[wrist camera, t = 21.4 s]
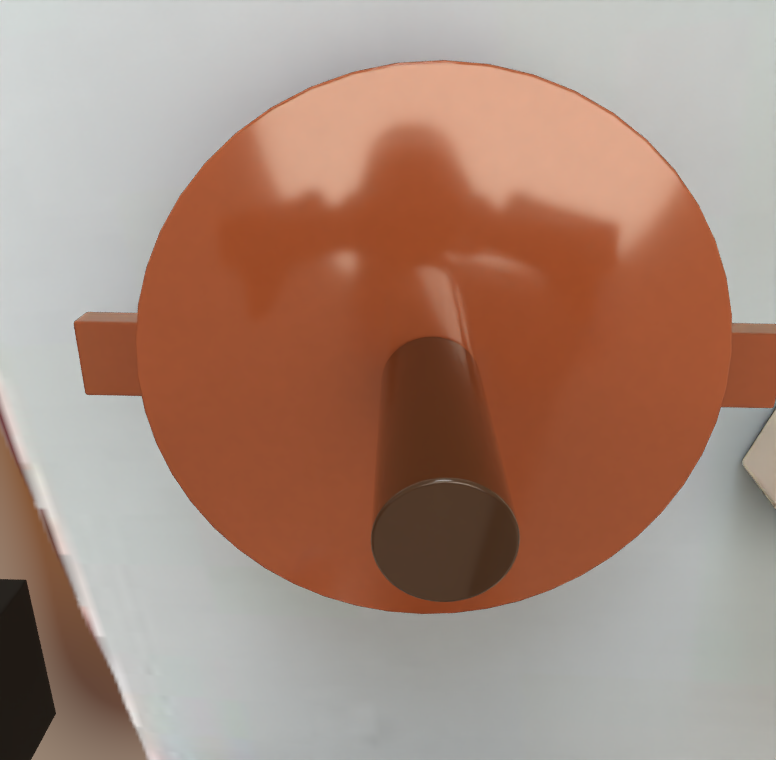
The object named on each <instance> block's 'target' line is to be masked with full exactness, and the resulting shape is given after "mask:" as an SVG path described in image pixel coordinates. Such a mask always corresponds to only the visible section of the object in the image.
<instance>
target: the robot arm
mask: <svg viewBox="0 0 776 760" xmlns="http://www.w3.org/2000/svg"><path fill="white" fill-rule="evenodd" d="M55 714H56V712H55V708H54V703H53V699H52V694H51V689H50V685H49V680H48V676H47V672H46V667H45V662H44V658H43V653H42V649H41V644H40V640H39V636H38V631H37V626H36V622H35V617H34V613H33V608H32V604H31V599H30V595H29V590H28V586H27V581H26V580H8V579H0V760H31V759H32V757H33V755H34V753H35V751H36V749H37V747H38V746H39V744H40V742H41V740H42V738H43V736H44V735H45V733H46V731H47V729H48V727H49V725H50V723H51V721H52V719H53V718H54V716H55Z"/></svg>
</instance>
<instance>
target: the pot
mask: <svg viewBox="0 0 776 760" xmlns="http://www.w3.org/2000/svg"><path fill="white" fill-rule="evenodd" d="M137 314H138V313H114V312H86V313H85V314H83V315H82V316H81V317H79V318H78V319H77V320H76V321H74V329H75V335H76V340H77V346H78V352H79V358H80V364H81V370H82V376H83V382H84V388H85V393H86V394H87V395H125V396H142V394H141V389H140V384H139V379H138V371H137V356H136V341H135V340H136V327H137ZM775 399H776V324H750V323H732V352H731V359H730V366H729V373H728V380H727V387H726V391H725V394H724V398H723V401H722V404H721V407H742V408H773V407H774V403H775Z"/></svg>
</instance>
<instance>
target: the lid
mask: <svg viewBox="0 0 776 760" xmlns="http://www.w3.org/2000/svg"><path fill="white" fill-rule="evenodd" d="M135 341H136V356H137V371H138V379H139V384H140V389H141V394H142V399H143V404H144V408H145V412H146V415H147V418H148V421H149V424H150V426H151V429H152V432H153V435H154V438H155V441H156V443H157V445H158V447H159V449H160V451H161V453H162V455H163V457H164V459H165V461H166V463H167V465H168V467H169V469H170V471H171V473H172V475H173V476H174V478H175V479H176V481H177V482H178V483H179V485H180V486H181V488H182V489H183V491H184V492H185V494H186V495H187V497H188V498H189V500H190V501H191V502H192V503H193V505H194V506H195V507H196V508H197V509H198V510H199V511H200V513H201V514H202V515H203V516H204V517H205V518H206V519H207V520H208V522H209V523H210V524H211V525H212V526H213V527H214V528H215V529H216V530H217V531H218V532H219V533H221V534H222V535H223V536H224V537H225V538H226V539H227V540H228V541H230V542H231V543H232V544H233V545H234V546H235V547H236V548H237V549H239V550H240V551H242V552H243V553H244V554H246V555H247V556H249V557H250V558H251V559H253V560H254V561H256V562H257V563H259V564H260V565H261V566H263V567H264V568H266V569H268V570H270V571H271V572H273V573H275V574H277V575H279V576H281V577H282V578H284V579H286V580H288V581H290V582H292V583H293V584H296V585H298V586H301V587H303V588H305V589H308V590H310V591H313V592H315V593H318V594H320V595H322V596H325V597H328V598H332V599H335V600H339V601H342V602H346V603H349V604H352V605H356V606H361V607H367V608H372V609H378V610H384V611H390V612H403V613H417V614H434V613H458V612H465V611H473V610H480V609H488V608H492V607H496V606H500V605H504V604H509V603H513V602H517V601H521V600H524V599H526V598H529V597H532V596H535V595H538V594H541V593H543V592H546V591H549V590H552V589H554V588H556V587H558V586H560V585H562V584H564V583H567V582H569V581H571V580H573V579H575V578H577V577H579V576H581V575H583V574H585V573H586V572H588V571H589V570H591V569H593V568H594V567H596V566H598V565H599V564H601V563H602V562H604V561H606V560H607V559H609V558H610V557H612V556H613V555H614V554H616V553H617V552H618V551H619V550H621V549H622V548H623V547H625V546H626V545H627V544H628V543H630V542H631V541H632V540H633V539H635V538H636V537H637V536H638V535H639V534H640V533H641V532H642V531H643V530H644V529H645V528H646V527H647V526H648V525H649V524H650V523H651V522H652V521H653V520H654V519H655V518H656V517H657V516H659V515H660V514H661V513H662V511H663V510H664V509H665V508H666V506H667V505H668V504H669V503H670V501H671V500H672V499H673V498H674V496H675V495H676V494H677V493H678V491H679V490H680V489H681V487H682V486H683V485H684V483H685V482H686V480H687V478H688V477H689V475H690V474H691V472H692V470H693V469H694V467H695V465H696V464H697V462H698V460H699V459H700V457H701V455H702V453H703V451H704V449H705V447H706V444H707V442H708V440H709V438H710V435H711V433H712V431H713V429H714V426H715V424H716V422H717V418H718V415H719V411H720V408H721V404H722V401H723V398H724V394H725V391H726V387H727V380H728V373H729V366H730V359H731V352H732V313H731V306H730V299H729V292H728V285H727V278H726V274H725V271H724V268H723V264H722V261H721V258H720V254H719V251H718V248H717V244H716V241H715V238H714V236H713V234H712V232H711V230H710V228H709V226H708V224H707V222H706V220H705V217H704V215H703V213H702V211H701V209H700V207H699V205H698V203H697V202H696V200H695V199H694V197H693V196H692V194H691V193H690V191H689V190H688V188H687V187H686V185H685V184H684V182H683V181H682V180H681V178H680V177H679V175H678V174H677V172H676V171H675V169H674V168H673V167H672V166H671V165H670V164H669V163H668V162H667V161H666V160H665V159H664V158H663V157H662V155H661V154H660V153H659V152H658V151H657V150H656V149H655V148H654V147H653V146H652V145H651V144H650V143H649V141H648V140H647V139H645V138H644V137H643V136H642V135H640V134H639V133H638V132H637V131H635V130H634V129H633V128H632V127H630V126H629V125H628V124H627V123H625V122H624V121H623V120H622V119H620V118H619V117H618V116H617V115H615V114H614V113H613V112H611V111H609V110H607V109H606V108H604V107H602V106H601V105H599V104H597V103H595V102H594V101H592V100H590V99H588V98H587V97H585V96H583V95H581V94H580V93H578V92H576V91H574V90H572V89H569V88H567V87H564V86H562V85H559V84H556V83H554V82H551V81H549V80H546V79H544V78H541V77H539V76H536V75H534V74H529V73H525V72H521V71H517V70H512V69H508V68H504V67H500V66H495V65H491V64H483V63H471V62H459V61H447V60H437V61H420V62H403V63H394V64H389V65H384V66H379V67H374V68H369V69H364V70H360V71H355V72H351V73H348V74H345V75H343V76H340V77H337V78H334V79H331V80H329V81H326V82H323V83H320V84H317V85H314V86H312V87H309V88H307V89H305V90H304V91H302V92H300V93H298V94H296V95H294V96H292V97H290V98H288V99H286V100H285V101H283V102H281V103H279V104H277V105H275V106H273V107H271V108H270V109H268V110H267V111H266V112H264V113H263V114H261V115H260V116H259V117H257V118H256V119H255V120H253V121H252V122H250V123H249V124H248V125H246V126H245V127H243V128H242V129H241V130H239V131H238V132H237V133H235V134H234V135H233V136H232V137H231V138H230V139H229V140H228V141H227V142H226V143H225V144H224V145H223V146H222V147H221V148H220V149H219V150H218V151H217V152H216V153H215V154H214V155H213V156H212V157H211V158H210V159H209V160H207V161H206V162H205V164H204V165H203V166H202V167H201V169H200V170H199V171H198V173H197V174H196V175H195V177H194V178H193V179H192V181H191V182H190V183H189V184H188V186H187V187H186V188H185V190H184V191H183V192H182V194H181V195H180V196H179V198H178V200H177V202H176V203H175V205H174V207H173V209H172V211H171V212H170V214H169V216H168V218H167V220H166V221H165V223H164V225H163V227H162V228H161V230H160V233H159V235H158V238H157V241H156V243H155V246H154V248H153V251H152V254H151V256H150V259H149V262H148V264H147V267H146V271H145V276H144V280H143V285H142V289H141V294H140V298H139V303H138V314H137V327H136V340H135Z"/></svg>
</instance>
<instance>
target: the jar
mask: <svg viewBox="0 0 776 760" xmlns="http://www.w3.org/2000/svg"><path fill="white" fill-rule="evenodd" d="M742 464H743V466H744V467H745V469H746V470H747V471H748V473H749V474H750V476H751V477H752V478H753V480H754V481H755V482H756V484H757V485H758V486H759V488H760V489H761V490H762V492H763V493H764V494H765V496H766V497H767V499H768V500H769V501H770V503H771V504H772V505H773V507H774V508H775V509H776V409H775V411H774V413H773V414H772V416H771V417H770V419H769V420H768V422H767V423H766V425H765V426H764V428H763V430H762V431H761V433H760V434H759V436H758V437H757V439H756V440H755V442H754V443H753V445H752V446H751V448H750V449H749V451H748V453H747V454H746V456H745V457H744V459H743V461H742Z"/></svg>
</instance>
